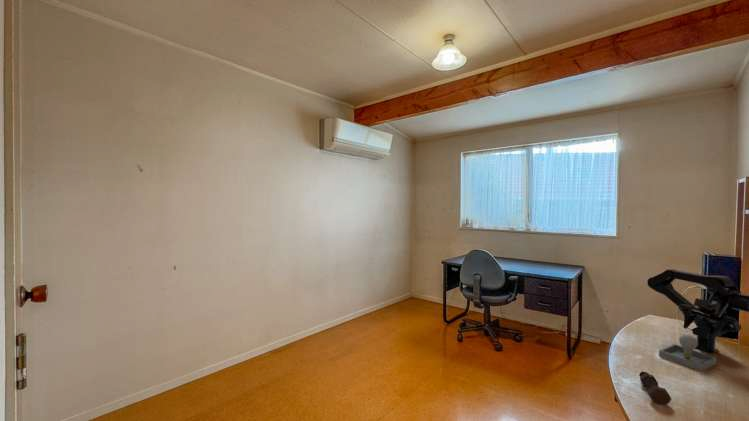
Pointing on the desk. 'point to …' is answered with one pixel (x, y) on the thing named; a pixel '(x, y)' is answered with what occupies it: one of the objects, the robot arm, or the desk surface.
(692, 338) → the light bulb
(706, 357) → the tray
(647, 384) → the dark brown lumpy piece
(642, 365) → the desk surface
